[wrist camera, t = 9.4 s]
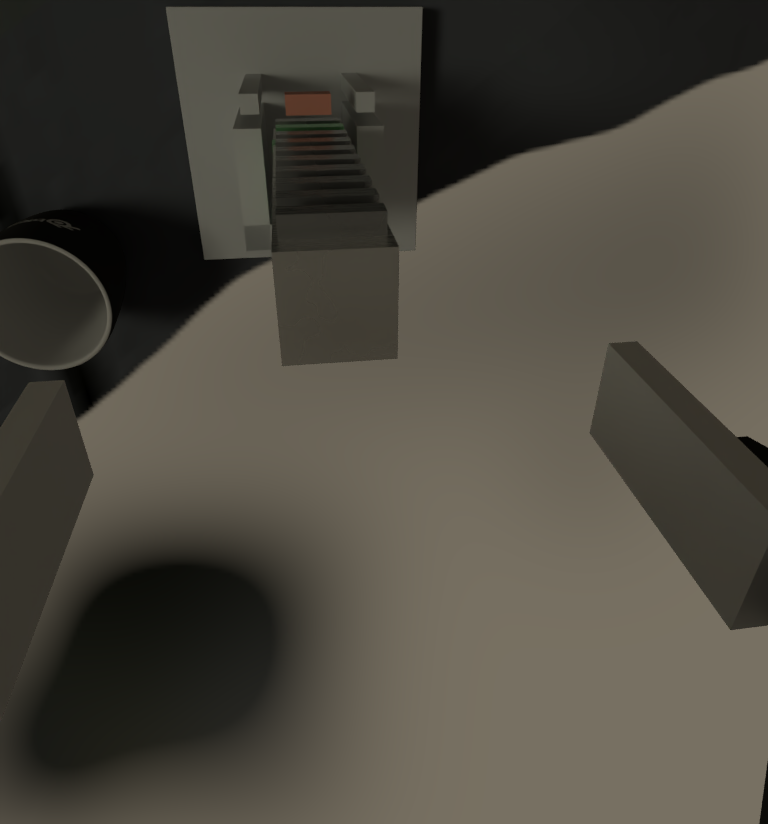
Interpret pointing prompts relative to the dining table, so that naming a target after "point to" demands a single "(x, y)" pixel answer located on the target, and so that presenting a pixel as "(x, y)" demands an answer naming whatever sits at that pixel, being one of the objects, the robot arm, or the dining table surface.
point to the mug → (58, 289)
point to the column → (330, 249)
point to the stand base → (293, 106)
